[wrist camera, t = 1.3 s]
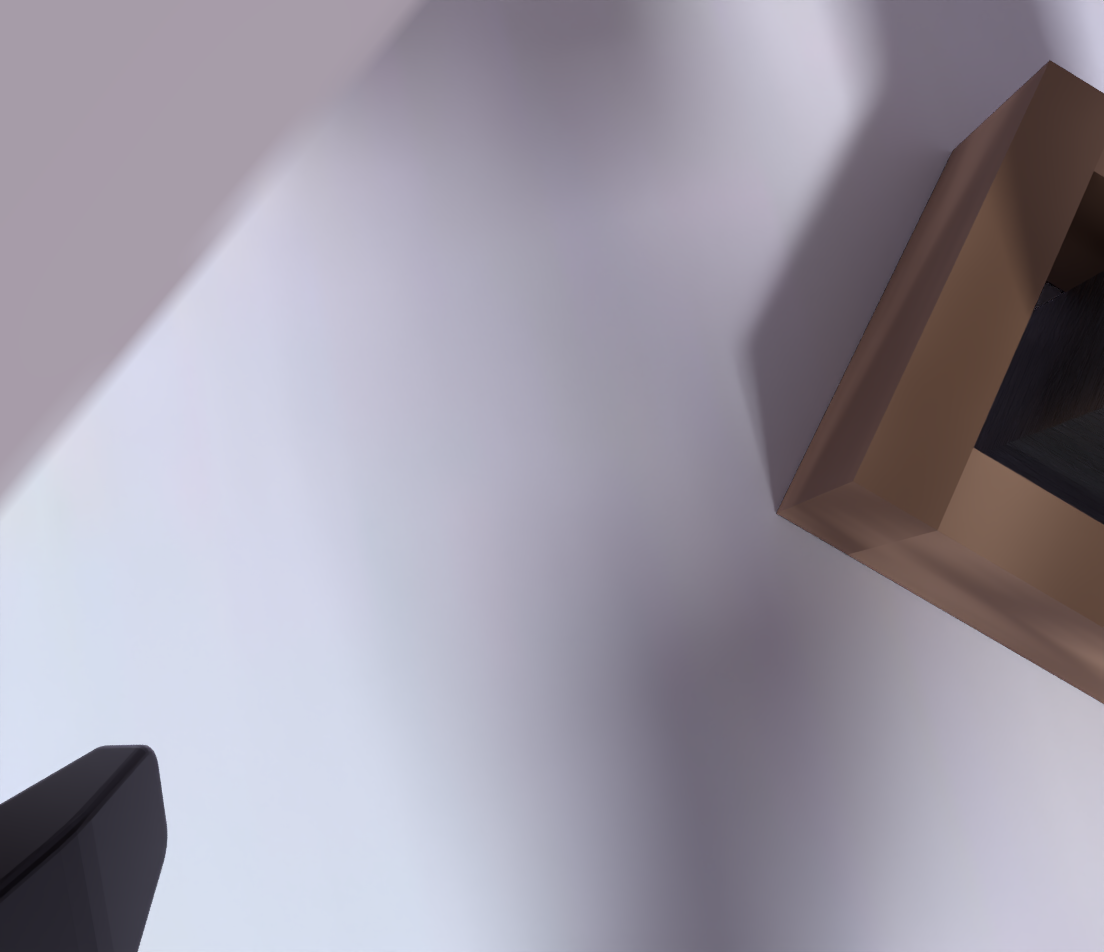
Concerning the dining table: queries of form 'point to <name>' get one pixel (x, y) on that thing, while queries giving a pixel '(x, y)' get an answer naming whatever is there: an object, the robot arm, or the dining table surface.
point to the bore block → (973, 392)
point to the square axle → (1056, 401)
